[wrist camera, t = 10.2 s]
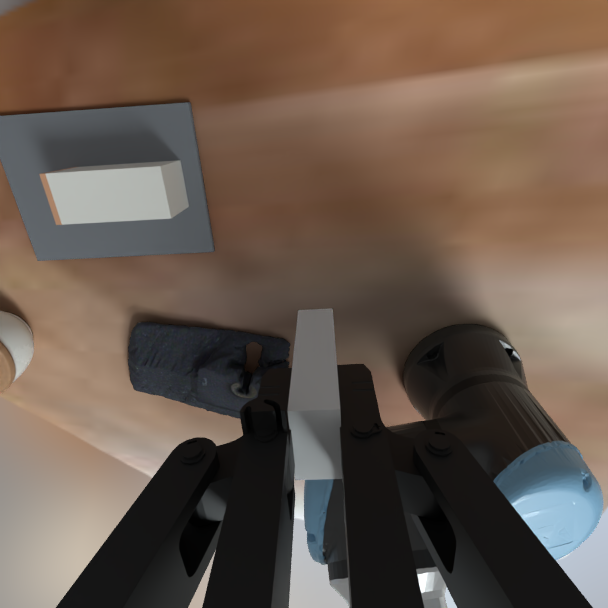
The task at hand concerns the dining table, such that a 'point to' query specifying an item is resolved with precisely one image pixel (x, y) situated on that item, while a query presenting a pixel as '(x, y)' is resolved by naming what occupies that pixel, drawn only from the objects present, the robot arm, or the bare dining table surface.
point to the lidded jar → (14, 348)
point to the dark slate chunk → (200, 365)
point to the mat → (105, 151)
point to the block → (116, 192)
